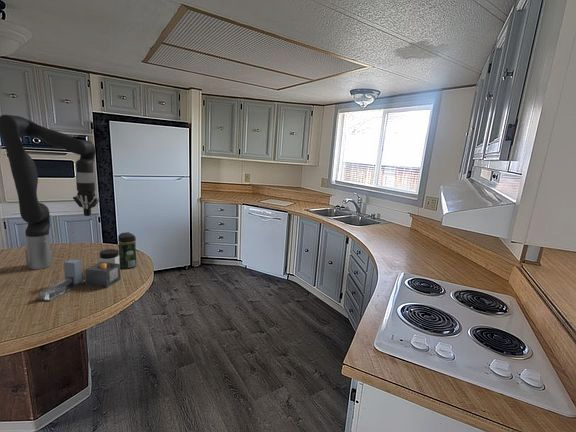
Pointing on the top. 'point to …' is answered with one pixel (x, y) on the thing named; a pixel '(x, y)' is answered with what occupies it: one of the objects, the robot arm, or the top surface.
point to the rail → (58, 289)
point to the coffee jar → (127, 250)
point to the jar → (109, 256)
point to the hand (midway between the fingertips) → (87, 215)
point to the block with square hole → (102, 275)
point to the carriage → (73, 270)
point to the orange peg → (103, 265)
